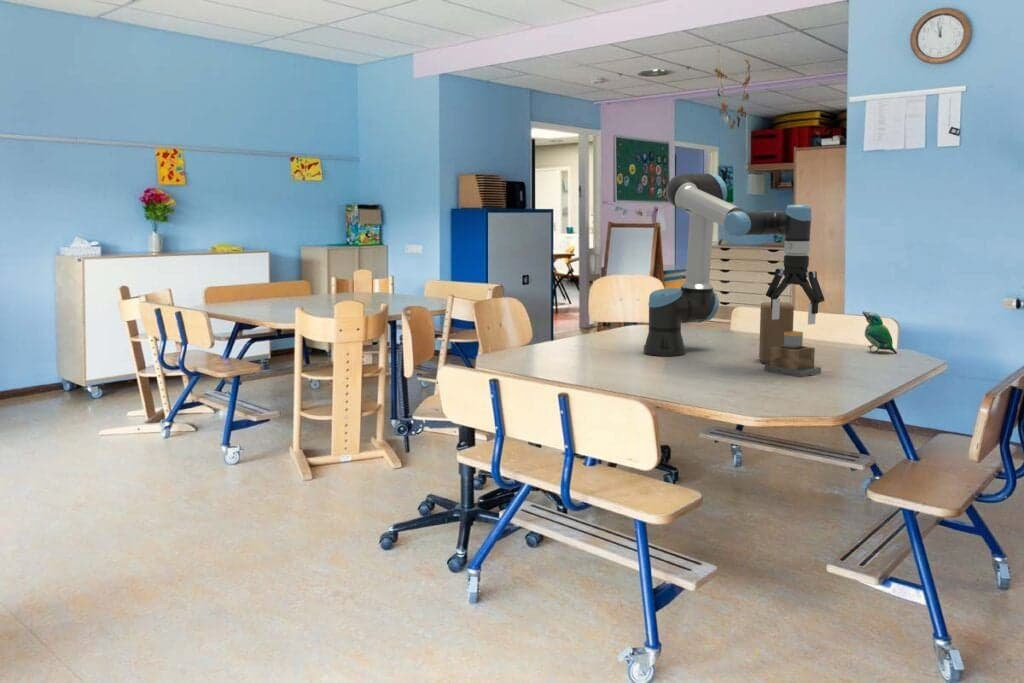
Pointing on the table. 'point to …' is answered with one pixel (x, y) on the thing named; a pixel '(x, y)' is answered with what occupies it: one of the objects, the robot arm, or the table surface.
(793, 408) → the table surface
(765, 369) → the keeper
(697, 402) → the table surface
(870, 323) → the toy
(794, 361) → the wooden cube shelf
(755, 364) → the table surface
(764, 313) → the block
